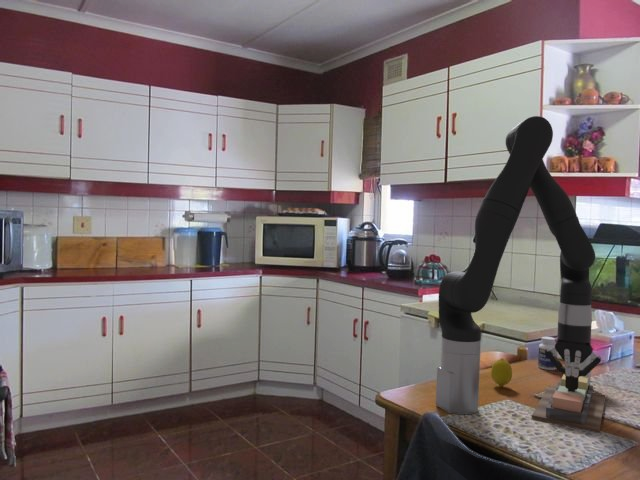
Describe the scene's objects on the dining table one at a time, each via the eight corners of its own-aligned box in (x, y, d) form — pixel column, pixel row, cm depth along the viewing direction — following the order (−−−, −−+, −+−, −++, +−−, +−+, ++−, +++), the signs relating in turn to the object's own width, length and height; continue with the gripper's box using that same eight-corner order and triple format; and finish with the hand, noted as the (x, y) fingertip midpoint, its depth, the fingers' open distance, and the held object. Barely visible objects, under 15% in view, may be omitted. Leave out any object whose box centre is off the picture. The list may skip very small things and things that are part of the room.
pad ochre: (586, 394, 136) (586, 382, 135) (560, 390, 139) (561, 378, 138) (588, 388, 141) (588, 377, 141) (563, 384, 144) (563, 373, 144)
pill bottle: (535, 368, 169) (537, 337, 169) (540, 364, 173) (541, 335, 173) (553, 371, 166) (555, 340, 165) (558, 368, 170) (559, 337, 170)
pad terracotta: (580, 415, 120) (581, 402, 120) (551, 409, 123) (552, 397, 123) (582, 407, 125) (583, 395, 125) (555, 402, 128) (555, 390, 128)
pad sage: (583, 408, 128) (583, 396, 128) (556, 403, 131) (556, 391, 131) (585, 401, 133) (585, 389, 133) (559, 397, 136) (559, 385, 136)
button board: (599, 432, 116) (599, 418, 116) (531, 418, 123) (532, 405, 123) (605, 398, 140) (605, 386, 140) (548, 388, 148) (548, 377, 147)
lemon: (507, 391, 144) (509, 362, 144) (487, 386, 147) (488, 358, 147) (514, 386, 148) (515, 358, 148) (494, 382, 152) (495, 354, 151)
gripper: (543, 320, 131) (540, 389, 132) (603, 327, 125) (600, 400, 125) (547, 316, 138) (545, 382, 138) (605, 322, 131) (602, 391, 132)
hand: (571, 390), depth 132 cm, fingers closed
